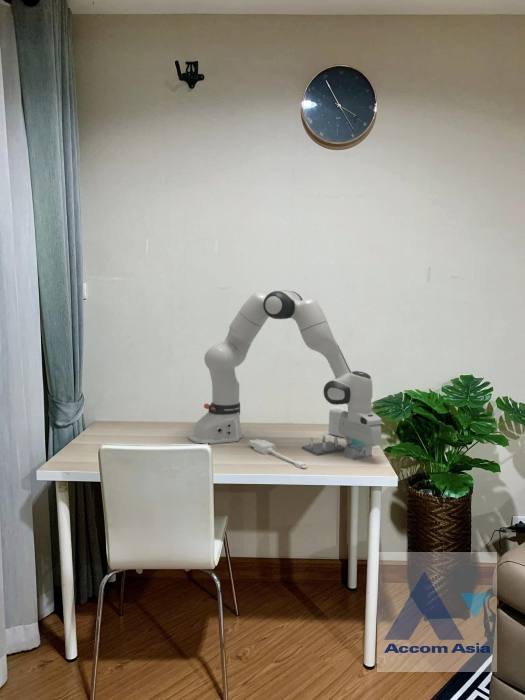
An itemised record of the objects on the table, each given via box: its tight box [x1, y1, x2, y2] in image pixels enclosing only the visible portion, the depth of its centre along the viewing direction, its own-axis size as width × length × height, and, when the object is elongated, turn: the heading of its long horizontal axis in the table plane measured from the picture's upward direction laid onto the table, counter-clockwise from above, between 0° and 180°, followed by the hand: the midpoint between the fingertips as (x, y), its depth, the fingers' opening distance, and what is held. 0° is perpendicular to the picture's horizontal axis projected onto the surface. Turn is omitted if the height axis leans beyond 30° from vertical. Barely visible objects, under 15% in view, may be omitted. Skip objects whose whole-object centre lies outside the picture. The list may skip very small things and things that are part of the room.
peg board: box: [301, 435, 345, 456], centre depth 235 cm, size 14×10×4 cm
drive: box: [343, 443, 373, 460], centre depth 228 cm, size 9×5×4 cm, turn 122°
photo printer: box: [328, 406, 348, 439], centre depth 254 cm, size 10×4×12 cm, turn 47°
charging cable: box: [248, 438, 308, 469], centre depth 225 cm, size 5×32×3 cm, turn 35°
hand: (358, 451), depth 228 cm, fingers open, 8 cm apart
